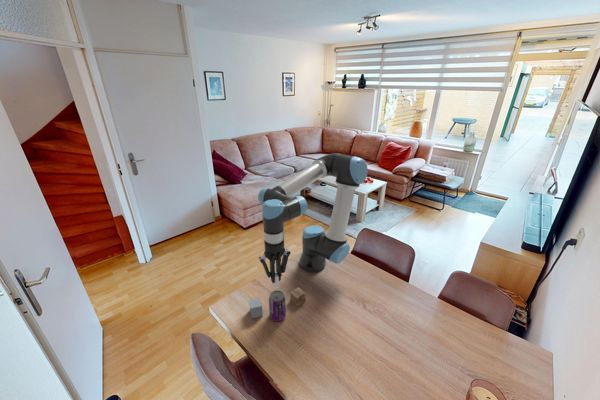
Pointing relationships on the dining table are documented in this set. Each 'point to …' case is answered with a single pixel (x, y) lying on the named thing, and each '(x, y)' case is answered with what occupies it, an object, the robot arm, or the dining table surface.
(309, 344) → the dining table surface
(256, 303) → the slate block
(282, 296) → the beverage can
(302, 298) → the walnut block
